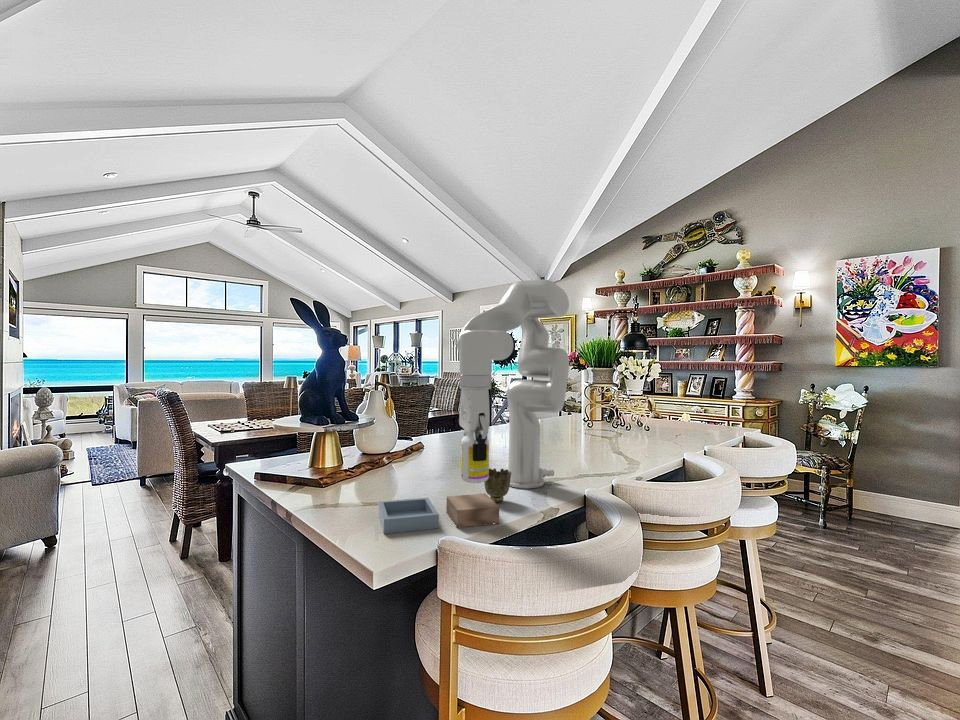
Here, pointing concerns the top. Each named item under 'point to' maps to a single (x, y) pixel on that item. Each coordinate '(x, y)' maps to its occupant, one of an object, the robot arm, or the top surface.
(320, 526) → the top surface
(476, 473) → the supplement bottle
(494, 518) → the walnut riser block
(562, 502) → the top surface
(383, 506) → the slate ceramic holder
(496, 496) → the cup
